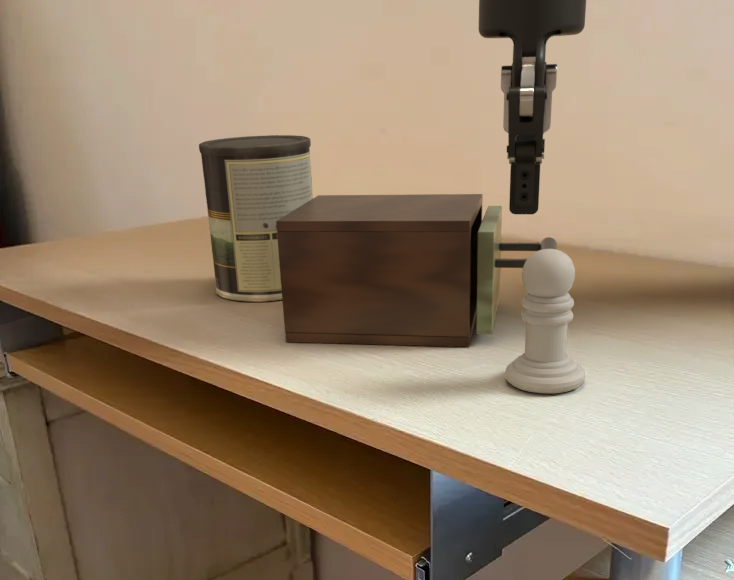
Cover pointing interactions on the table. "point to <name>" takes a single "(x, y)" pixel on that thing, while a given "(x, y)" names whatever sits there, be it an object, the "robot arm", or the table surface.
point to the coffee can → (252, 208)
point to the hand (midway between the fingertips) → (523, 212)
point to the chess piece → (546, 326)
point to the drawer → (495, 265)
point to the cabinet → (381, 269)
